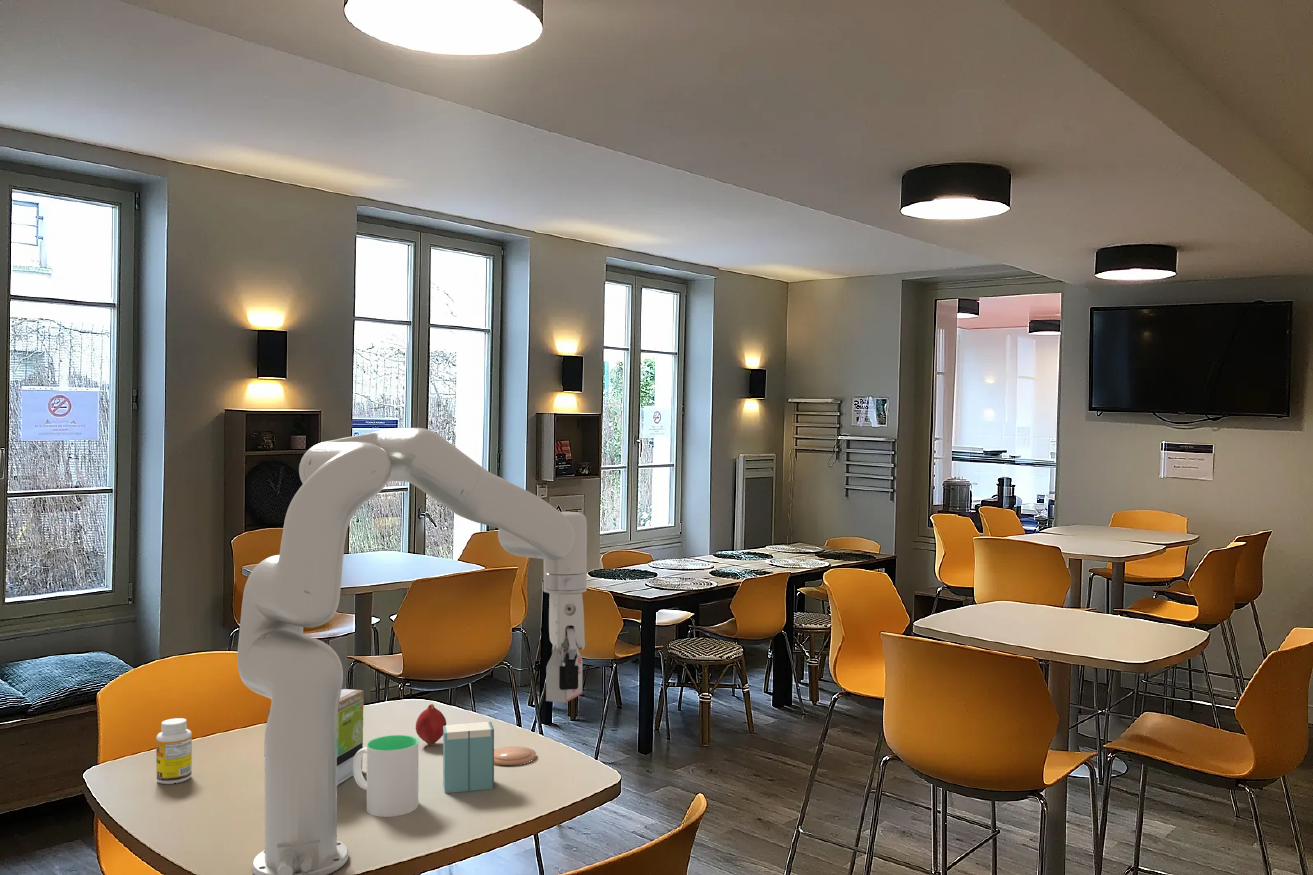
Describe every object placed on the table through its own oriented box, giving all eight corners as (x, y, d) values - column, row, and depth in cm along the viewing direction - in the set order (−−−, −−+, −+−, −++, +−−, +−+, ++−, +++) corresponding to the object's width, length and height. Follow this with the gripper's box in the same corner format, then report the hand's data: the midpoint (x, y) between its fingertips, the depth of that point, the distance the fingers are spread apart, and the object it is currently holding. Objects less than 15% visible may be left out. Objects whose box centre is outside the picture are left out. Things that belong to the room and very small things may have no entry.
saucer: (539, 763, 181) (539, 758, 181) (489, 767, 179) (489, 762, 179) (532, 748, 190) (532, 743, 190) (484, 752, 188) (484, 747, 188)
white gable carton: (546, 700, 172) (546, 642, 172) (563, 691, 178) (563, 635, 178) (565, 703, 170) (565, 644, 170) (582, 693, 177) (582, 637, 177)
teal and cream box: (494, 788, 168) (493, 729, 168) (444, 793, 166) (444, 732, 166) (491, 779, 173) (491, 721, 173) (443, 784, 171) (443, 725, 171)
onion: (413, 742, 194) (412, 701, 194) (442, 738, 196) (442, 698, 196) (419, 751, 188) (419, 709, 188) (449, 747, 191) (449, 705, 191)
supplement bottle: (159, 776, 175) (159, 718, 175) (194, 773, 176) (193, 715, 176) (153, 786, 169) (153, 726, 169) (189, 783, 171) (189, 724, 171)
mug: (336, 808, 160) (336, 743, 160) (369, 791, 167) (369, 730, 167) (397, 819, 155) (397, 753, 155) (428, 802, 162) (428, 738, 162)
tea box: (320, 800, 163) (320, 710, 163) (265, 796, 165) (264, 707, 165) (364, 770, 178) (364, 687, 178) (313, 766, 180) (313, 684, 180)
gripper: (596, 589, 167) (595, 694, 167) (577, 575, 184) (576, 671, 183) (551, 590, 165) (551, 697, 165) (536, 576, 182) (536, 673, 182)
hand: (564, 682), depth 174 cm, fingers closed on white gable carton, 7 cm apart
